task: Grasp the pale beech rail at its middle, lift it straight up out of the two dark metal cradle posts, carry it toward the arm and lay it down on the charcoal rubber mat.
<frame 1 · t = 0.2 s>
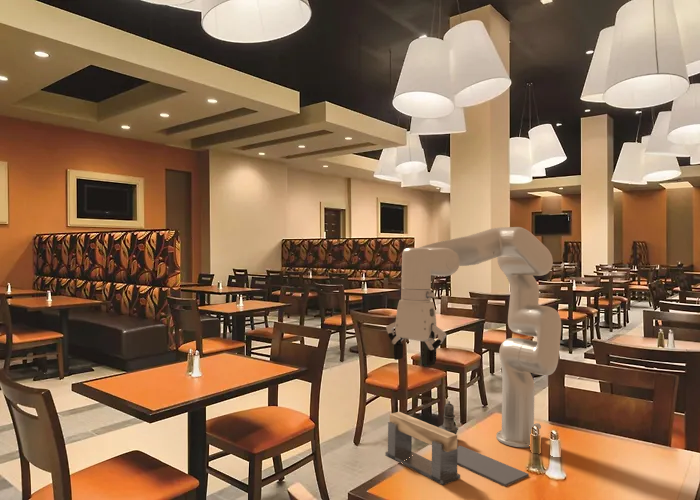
hand: (414, 361, 130), 30 cm above the table, fingers open, 9 cm apart
rail: (421, 437, 136), point 8 cm above the table, touching rack
grey figurine: (448, 439, 156), on the table
rack: (420, 466, 137), on the table
mat: (480, 465, 138), on the table
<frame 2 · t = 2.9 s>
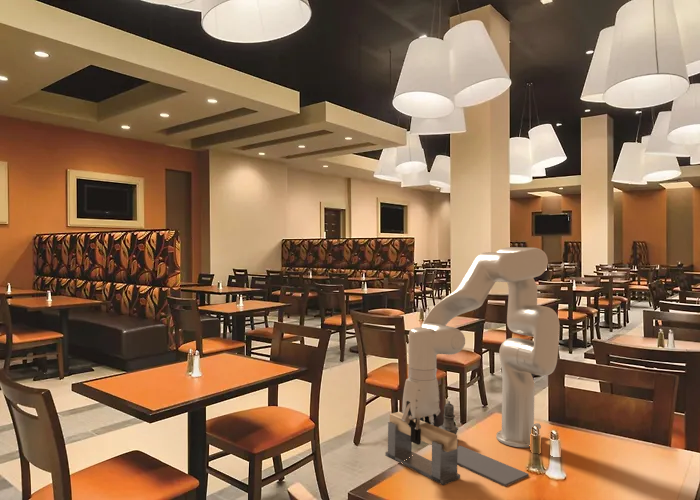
hand: (421, 440, 136), 7 cm above the table, fingers closed on rail, 3 cm apart
rail: (421, 437, 136), point 8 cm above the table, touching gripper, rack
everything else where it was.
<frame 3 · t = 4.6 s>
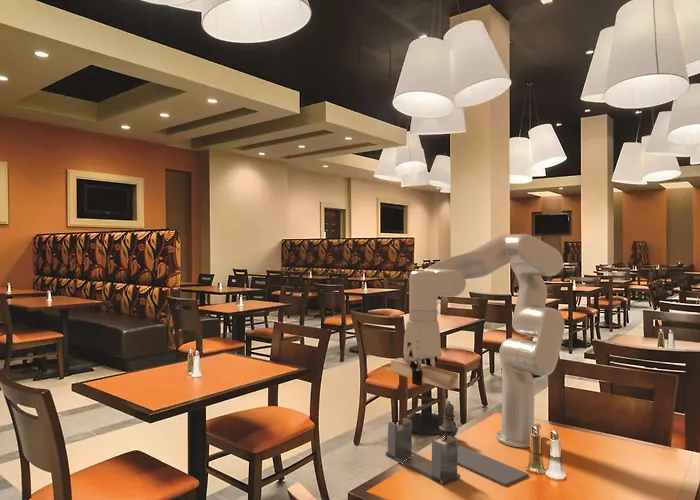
hand: (422, 382, 137), 23 cm above the table, fingers closed on rail, 3 cm apart
rail: (422, 379, 137), point 24 cm above the table, touching gripper
everything else where it was.
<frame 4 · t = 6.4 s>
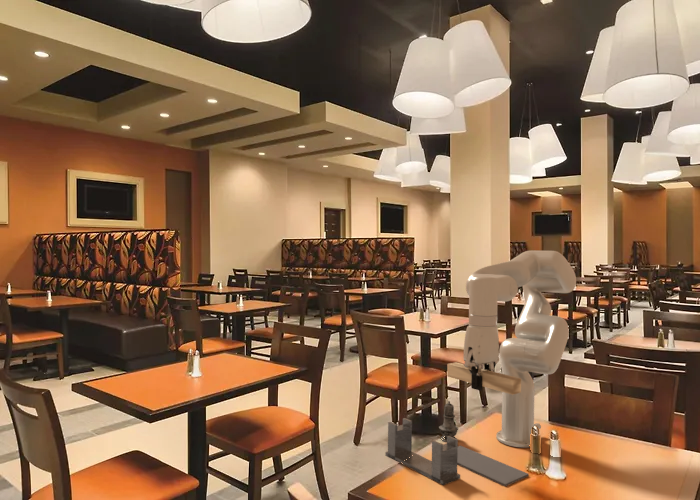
hand: (481, 387, 138), 21 cm above the table, fingers closed on rail, 3 cm apart
rail: (482, 383, 138), point 22 cm above the table, touching gripper
everything else where it was.
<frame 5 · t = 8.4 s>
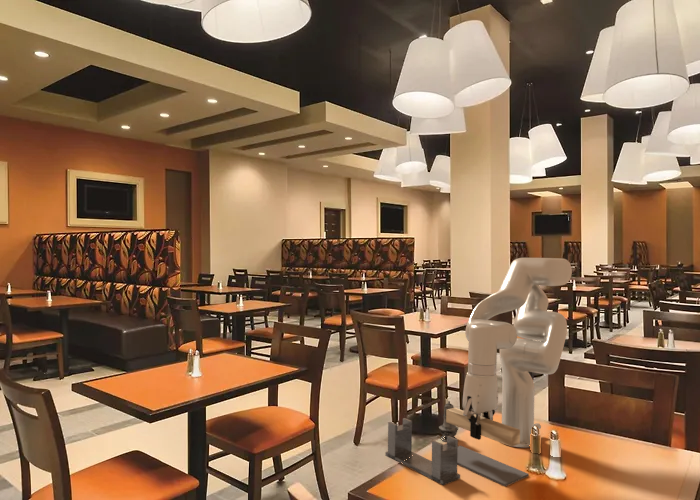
hand: (480, 435, 137), 8 cm above the table, fingers closed on rail, 3 cm apart
rail: (480, 432, 137), point 9 cm above the table, touching gripper
everything else where it was.
when the fingers open (1 cm above the table, at t = 10.1 s): rail drops 2 cm, resting on mat.
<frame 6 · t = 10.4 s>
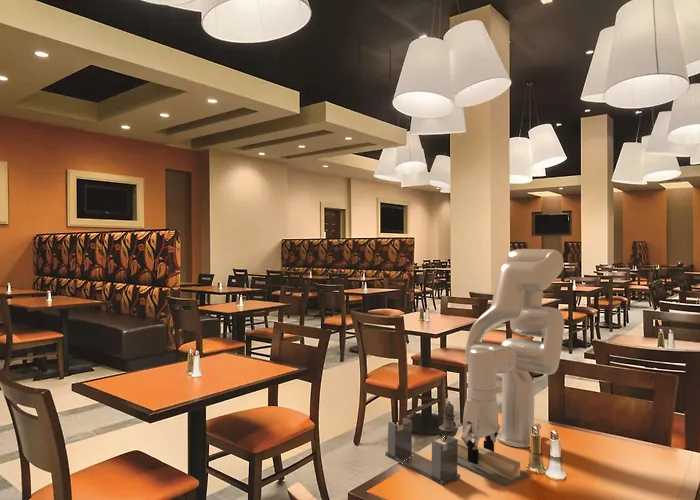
hand: (480, 458, 138), 2 cm above the table, fingers open, 6 cm apart
rail: (481, 463, 138), point 1 cm above the table, touching mat
everything else where it was.
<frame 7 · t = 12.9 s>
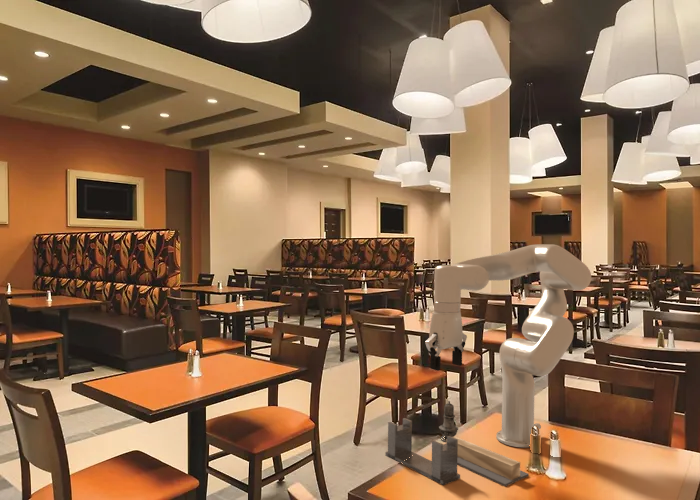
hand: (446, 367, 145), 25 cm above the table, fingers open, 9 cm apart
nothing on the table moved.
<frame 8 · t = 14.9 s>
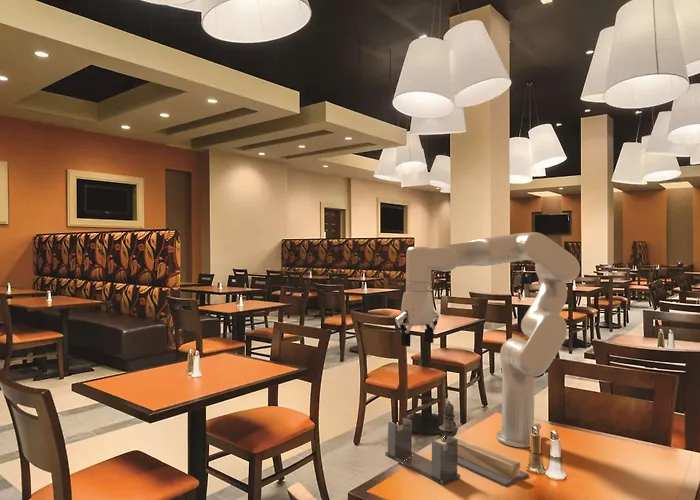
hand: (417, 344, 152), 30 cm above the table, fingers open, 9 cm apart
nothing on the table moved.
at the end: rail inside the target area on the mat (0.1 cm from its centre), point 0.6 cm above the mat's base; rail touching mat; the gripper is holding nothing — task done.
